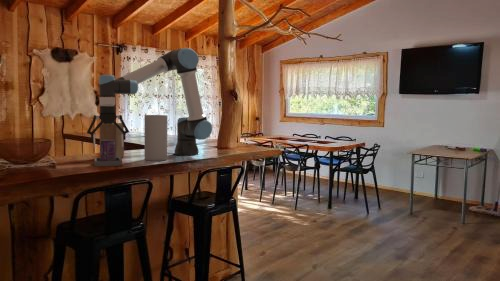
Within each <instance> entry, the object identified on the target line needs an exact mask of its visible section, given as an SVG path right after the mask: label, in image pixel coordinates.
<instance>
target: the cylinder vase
mask: <svg viewBox="0 0 500 281" xmlns="http://www.w3.org/2000/svg"><path fill="white" fill-rule="evenodd" d="M144 160H145V161H151V162H161V161H167V160H168V115H167V114H166V115H164V114H163V115H162V114H145V115H144Z"/></svg>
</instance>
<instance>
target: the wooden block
mask: <svg viewBox="0 0 500 281" xmlns="http://www.w3.org/2000/svg"><path fill="white" fill-rule="evenodd" d="M116 123H117V124H118V125H119V126H120V127H121V128H122V129H123V130H124V131H125V128H124V127H123V125H122V123H121V122H116ZM121 134H123V133H122V132H121V131H120V130H119V129H118V127H117V126H116V125H115V124H114V123H112V124H104V123H103V124H102V125H101V126H100V127H99V158H101V140H104V139H112V140H114V142H115V157H120V158H121V159H122V158H124V157H125V143H124V142H125V140H123V147H122V143H121Z"/></svg>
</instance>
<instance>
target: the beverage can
mask: <svg viewBox="0 0 500 281" xmlns="http://www.w3.org/2000/svg"><path fill="white" fill-rule="evenodd" d="M101 161H115V142H114V140H112V139H104V140H101Z"/></svg>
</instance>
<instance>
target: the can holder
mask: <svg viewBox="0 0 500 281" xmlns="http://www.w3.org/2000/svg"><path fill="white" fill-rule="evenodd" d="M93 163H94V167H95V168H97V167H120V166H121V167H122V166H123V159H122V158H120V157H115V161H101V158H100V157H94V162H93Z"/></svg>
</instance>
